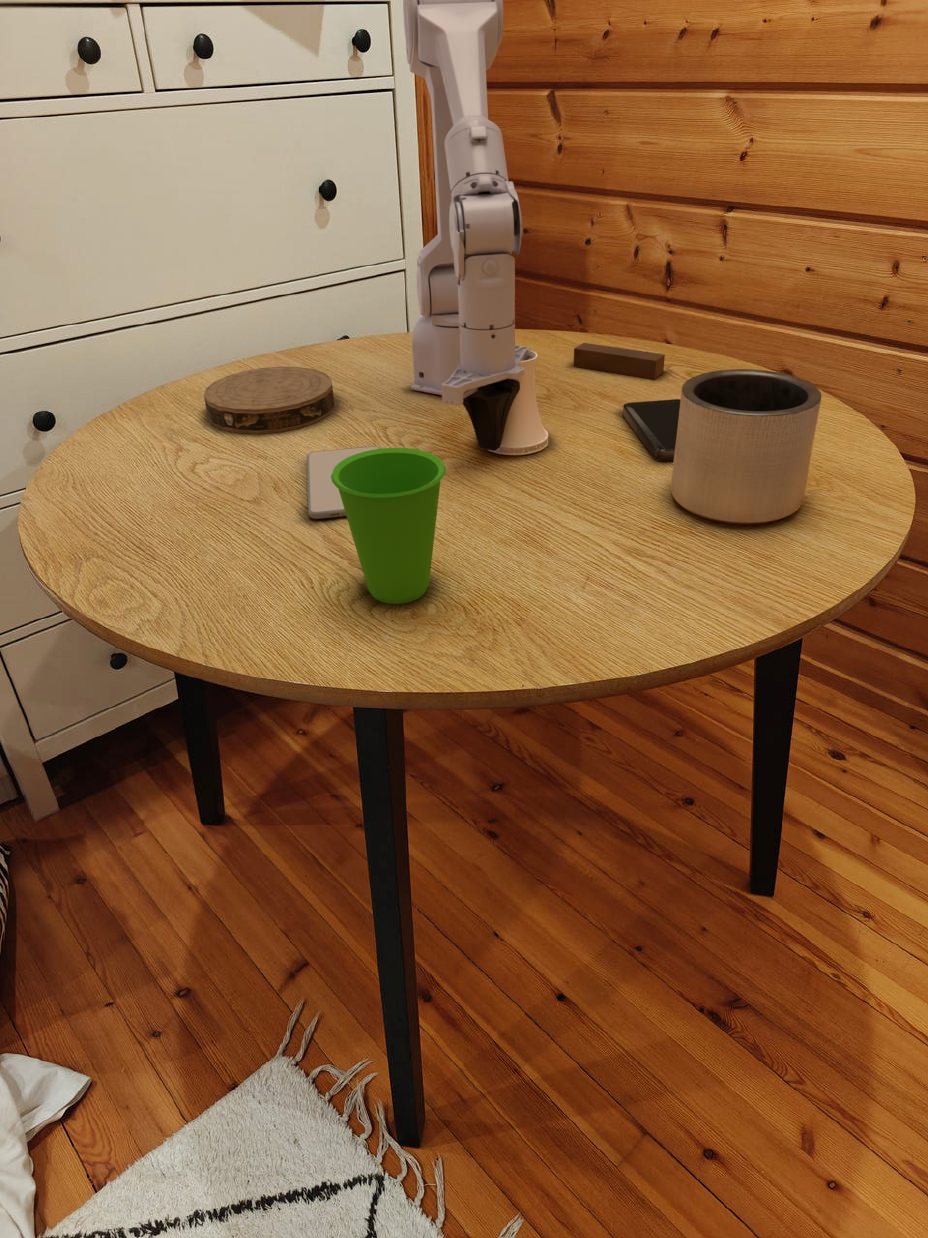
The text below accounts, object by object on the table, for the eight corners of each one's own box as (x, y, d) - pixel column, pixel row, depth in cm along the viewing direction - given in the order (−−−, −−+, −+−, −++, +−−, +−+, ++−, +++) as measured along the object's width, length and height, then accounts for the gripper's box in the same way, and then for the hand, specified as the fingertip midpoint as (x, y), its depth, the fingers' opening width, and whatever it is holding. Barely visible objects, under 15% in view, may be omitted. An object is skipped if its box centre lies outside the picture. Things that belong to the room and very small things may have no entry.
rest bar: (573, 366, 125) (573, 348, 123) (583, 360, 127) (583, 342, 125) (654, 379, 119) (656, 360, 118) (663, 372, 121) (665, 354, 120)
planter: (826, 521, 84) (850, 406, 78) (698, 536, 83) (712, 420, 77) (767, 468, 95) (783, 362, 88) (652, 480, 93) (661, 374, 87)
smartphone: (307, 513, 88) (306, 451, 100) (309, 522, 88) (307, 459, 100) (393, 505, 88) (381, 444, 101) (394, 514, 89) (381, 452, 101)
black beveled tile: (656, 451, 96) (621, 402, 109) (655, 461, 97) (620, 411, 109) (728, 446, 97) (685, 398, 109) (727, 455, 97) (684, 406, 110)
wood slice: (357, 412, 113) (355, 388, 111) (238, 444, 105) (233, 419, 104) (301, 380, 124) (298, 358, 122) (189, 407, 116) (184, 384, 115)
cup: (347, 566, 81) (332, 450, 74) (448, 558, 81) (442, 443, 75) (344, 621, 73) (328, 498, 67) (455, 613, 73) (449, 489, 67)
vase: (528, 460, 98) (528, 369, 93) (469, 447, 102) (467, 359, 96) (559, 437, 104) (562, 350, 98) (502, 426, 107) (502, 341, 102)
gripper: (482, 346, 85) (485, 479, 93) (555, 309, 95) (553, 431, 102) (421, 336, 88) (429, 465, 96) (498, 302, 98) (500, 420, 106)
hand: (489, 447), depth 99 cm, fingers closed
